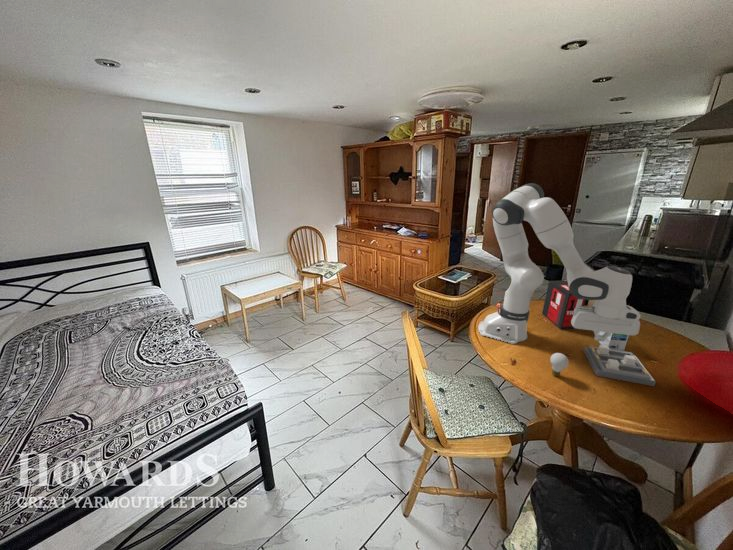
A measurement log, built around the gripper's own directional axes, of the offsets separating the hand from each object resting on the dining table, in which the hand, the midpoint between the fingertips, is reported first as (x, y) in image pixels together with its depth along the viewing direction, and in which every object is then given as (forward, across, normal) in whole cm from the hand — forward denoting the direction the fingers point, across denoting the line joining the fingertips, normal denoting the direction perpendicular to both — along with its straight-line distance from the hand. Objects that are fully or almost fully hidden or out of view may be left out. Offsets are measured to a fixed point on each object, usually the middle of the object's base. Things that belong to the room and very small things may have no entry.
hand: (599, 340), depth 112 cm
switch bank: (+14, +10, +5) cm, 18 cm away
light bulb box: (+15, +13, +23) cm, 30 cm away
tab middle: (+12, +13, +5) cm, 19 cm away
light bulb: (+14, -14, -8) cm, 22 cm away
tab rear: (+12, +6, +10) cm, 17 cm away
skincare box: (+15, +12, +48) cm, 51 cm away
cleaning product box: (+14, -4, +40) cm, 42 cm away
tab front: (+12, +6, 0) cm, 14 cm away
